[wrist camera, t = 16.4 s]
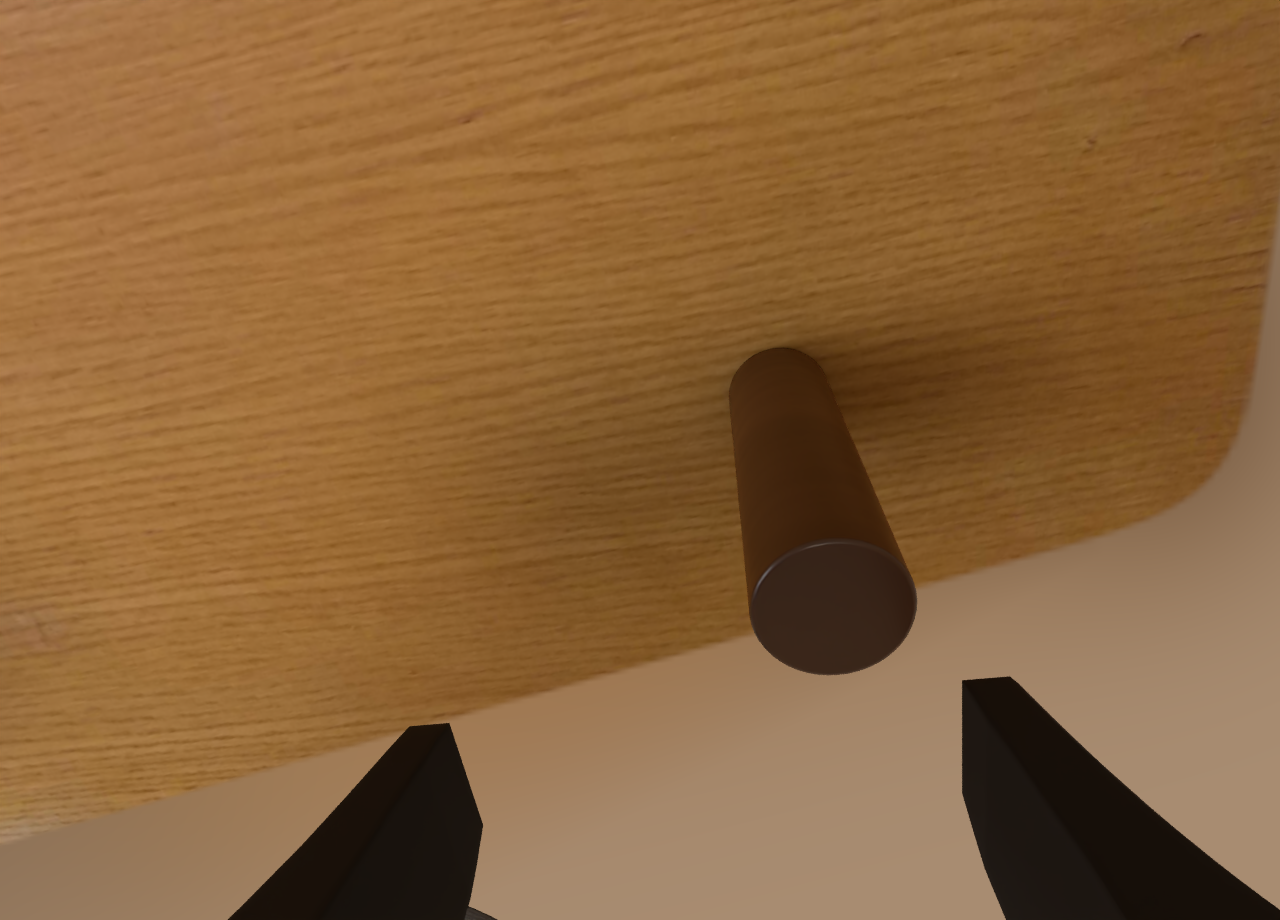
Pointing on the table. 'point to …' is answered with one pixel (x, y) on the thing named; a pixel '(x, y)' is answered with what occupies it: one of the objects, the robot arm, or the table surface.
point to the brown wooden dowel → (812, 524)
